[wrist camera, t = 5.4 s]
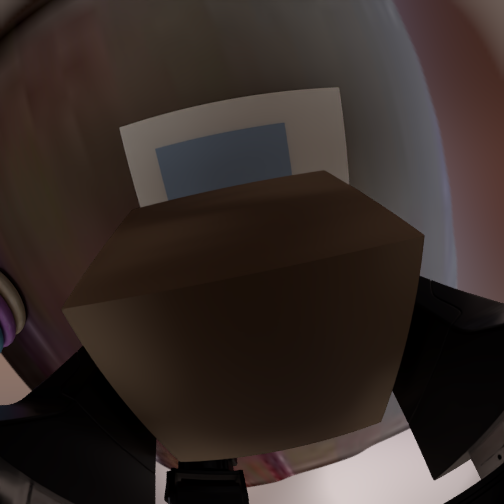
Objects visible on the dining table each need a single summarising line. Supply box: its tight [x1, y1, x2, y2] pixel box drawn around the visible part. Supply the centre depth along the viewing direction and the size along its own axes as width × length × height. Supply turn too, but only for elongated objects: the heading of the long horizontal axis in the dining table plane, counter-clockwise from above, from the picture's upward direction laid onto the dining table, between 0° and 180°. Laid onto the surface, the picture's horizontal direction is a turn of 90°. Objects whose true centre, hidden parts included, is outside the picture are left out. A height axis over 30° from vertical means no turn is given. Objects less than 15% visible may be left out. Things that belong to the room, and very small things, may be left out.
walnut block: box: [61, 170, 424, 462], centre depth 8 cm, size 6×6×5 cm
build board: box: [120, 87, 349, 207], centre depth 22 cm, size 14×27×1 cm, turn 10°
